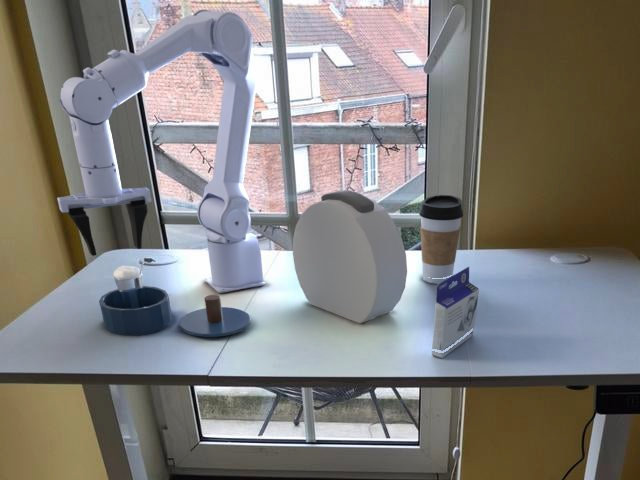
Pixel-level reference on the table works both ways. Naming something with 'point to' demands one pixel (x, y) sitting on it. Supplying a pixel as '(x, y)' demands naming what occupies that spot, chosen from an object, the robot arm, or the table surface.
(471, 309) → the ink box
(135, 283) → the milkshake
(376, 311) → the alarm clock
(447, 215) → the coffee cup
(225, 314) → the lid
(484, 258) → the table surface
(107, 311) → the tin
